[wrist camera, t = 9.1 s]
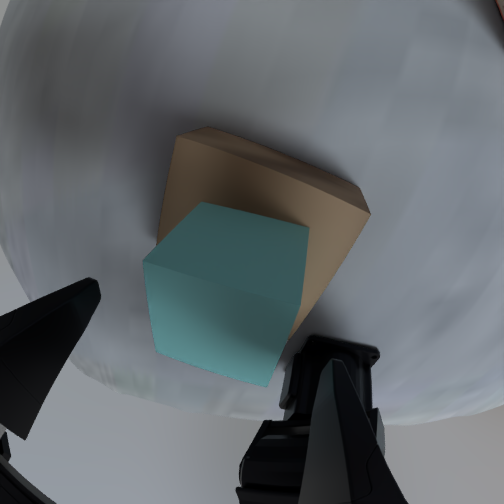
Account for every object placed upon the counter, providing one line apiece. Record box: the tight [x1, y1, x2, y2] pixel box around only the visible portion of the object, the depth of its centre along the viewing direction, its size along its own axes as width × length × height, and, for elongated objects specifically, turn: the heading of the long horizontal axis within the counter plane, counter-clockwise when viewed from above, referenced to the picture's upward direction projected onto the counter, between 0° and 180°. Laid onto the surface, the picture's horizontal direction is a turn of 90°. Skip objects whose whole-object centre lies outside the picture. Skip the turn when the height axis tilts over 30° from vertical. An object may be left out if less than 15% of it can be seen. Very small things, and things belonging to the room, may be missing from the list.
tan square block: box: [156, 127, 371, 340], centre depth 15 cm, size 9×9×4 cm
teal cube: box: [143, 202, 309, 387], centre depth 11 cm, size 5×5×5 cm
